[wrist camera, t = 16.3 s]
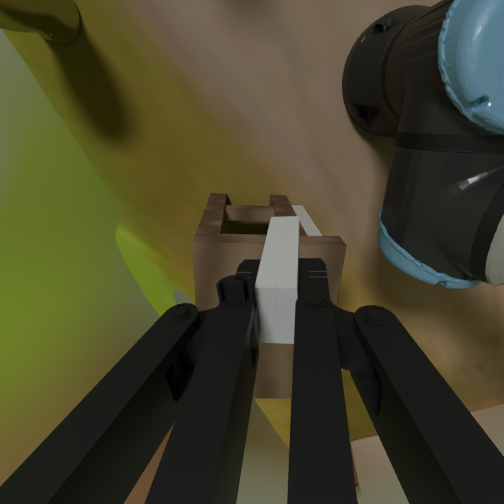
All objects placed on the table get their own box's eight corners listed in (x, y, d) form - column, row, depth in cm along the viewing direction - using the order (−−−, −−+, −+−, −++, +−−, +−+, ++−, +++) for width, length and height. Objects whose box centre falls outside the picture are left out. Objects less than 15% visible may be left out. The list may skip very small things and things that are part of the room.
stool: (307, 195, 49) (346, 245, 31) (294, 308, 58) (318, 398, 40) (210, 193, 48) (192, 242, 30) (213, 307, 57) (200, 398, 39)
